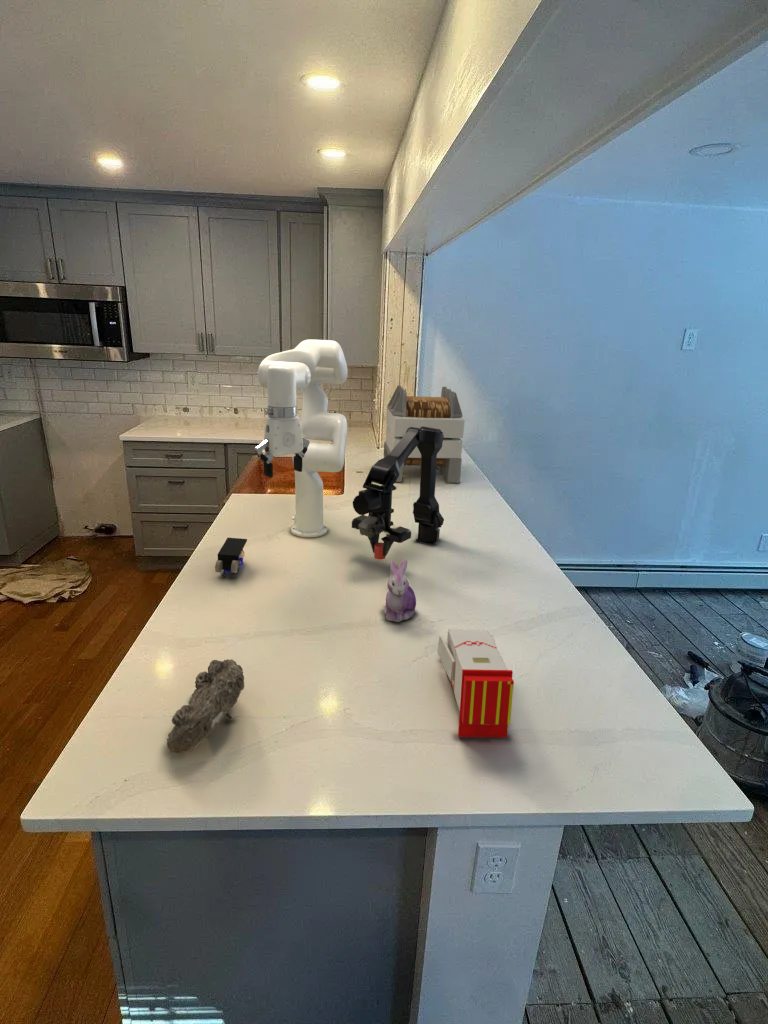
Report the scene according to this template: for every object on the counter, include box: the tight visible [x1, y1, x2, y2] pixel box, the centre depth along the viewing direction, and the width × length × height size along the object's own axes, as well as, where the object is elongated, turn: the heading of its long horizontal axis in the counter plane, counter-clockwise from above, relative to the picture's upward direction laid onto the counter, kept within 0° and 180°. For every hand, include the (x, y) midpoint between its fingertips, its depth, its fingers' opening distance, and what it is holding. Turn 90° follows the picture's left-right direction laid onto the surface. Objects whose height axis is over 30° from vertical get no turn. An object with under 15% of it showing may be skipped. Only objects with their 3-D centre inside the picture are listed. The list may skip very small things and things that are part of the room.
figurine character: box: [214, 537, 248, 578], centre depth 166 cm, size 7×8×15 cm
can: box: [373, 541, 386, 561], centre depth 173 cm, size 4×4×4 cm
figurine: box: [384, 558, 417, 623], centre depth 145 cm, size 9×10×15 cm
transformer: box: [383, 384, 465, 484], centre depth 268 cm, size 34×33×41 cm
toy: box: [437, 628, 515, 738], centre depth 117 cm, size 12×13×30 cm
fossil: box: [166, 658, 245, 754], centre depth 106 cm, size 22×10×15 cm
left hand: (283, 473), depth 158 cm, fingers open, 9 cm apart
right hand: (379, 554), depth 173 cm, fingers closed on can, 3 cm apart
